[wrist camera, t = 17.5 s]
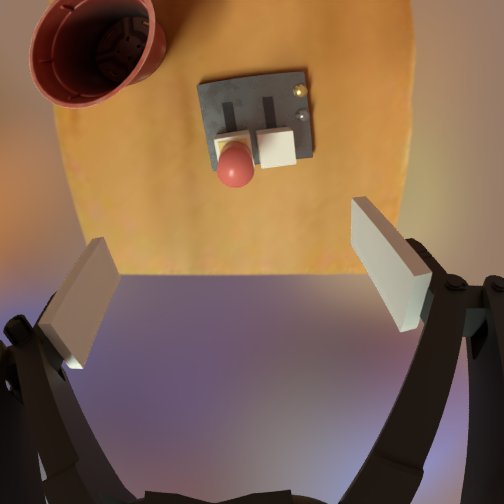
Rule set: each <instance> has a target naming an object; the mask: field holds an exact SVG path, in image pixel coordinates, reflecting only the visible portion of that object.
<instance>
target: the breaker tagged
mask: <svg viewBox="0 0 504 504" xmlns="http://www.w3.org/2000/svg"><path fill="white" fill-rule="evenodd" d="M232 141H239V142H242V143H244V144H245V145H247V146H248V148H249V149H250V151H251V156H252V161H253V165H254V160H253V153H252V146H251V139H250V133H249V130H242V131H235V132H229V133H223V134H217V135H215V138H214V143H215V149H216V154H217V160H218V161H219V156H220V152H221V149H222V148H223V146H224V145H226V144H227V143H229V142H232ZM254 168H255V166H254Z"/></svg>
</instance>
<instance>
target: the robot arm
mask: <svg viewBox="0 0 504 504" xmlns="http://www.w3.org/2000/svg"><path fill="white" fill-rule="evenodd" d="M351 246H352V247H353V249H354V250H355V252H356V254H357V255H358V257H359V259H360V260H361V262H362V264H363V266H364V267H365V269H366V271H367V272H368V274H369V276H370V277H371V279H372V281H373V283H374V284H375V286H376V288H377V290H378V292H379V293H380V295H381V297H382V298H383V301H384V302H385V304H386V306H387V308H388V310H389V312H390V313H391V315H392V317H393V319H394V321H395V323H396V325H397V327H398V328H399V330H400V332H404V331H407V330H411V329H415V328H417V326H418V323H419V319H420V317H421V319H422V321H423V322H424V324H425V325H424V328H423V331H422V333H421V336H420V339H419V343H418V345H417V348H416V351H415V354H414V357H413V360H412V362H411V365H410V367H409V370H408V372H407V375H406V377H405V380H404V382H403V385H402V387H401V390H400V392H399V394H398V396H397V399H396V401H395V403H394V406H393V408H392V410H391V412H390V414H389V416H388V418H387V420H386V423H385V425H384V426H383V428H382V430H381V432H380V434H379V437H378V438H377V440H376V442H375V444H374V446H373V447H372V449H371V451H370V453H369V455H368V457H367V458H366V460H365V462H364V464H363V465H362V467H361V469H360V470H359V472H358V474H357V475H356V477H355V478H354V480H353V482H352V483H351V485H350V486H349V488H348V489H347V491H346V492H345V494H344V495H343V497H342V498H341V500H340V501H339V503H338V504H410V503H411V501H412V499H413V497H414V495H415V493H416V491H417V489H418V487H419V485H420V483H421V480H422V477H423V473H424V471H423V465H424V462H425V460H426V457H427V455H428V453H429V450H430V448H431V445H432V443H433V440H434V437H435V435H436V432H437V429H438V426H439V423H440V420H441V418H442V414H443V411H444V408H445V405H446V402H447V398H448V395H449V392H450V388H451V384H452V380H453V377H454V372H455V369H456V364H457V360H458V355H459V350H460V346H461V341H462V337H466V346H467V358H468V374H469V430H468V445H467V457H466V466H465V474H464V482H463V488H462V495H461V503H460V504H504V278H502V277H500V276H496V275H491V276H488V277H486V279H485V281H484V284H483V286H469V285H468V284H467V282H466V281H465V280H464V279H462V278H461V277H460V276H457V275H454V274H447V273H446V271H445V270H444V269H443V268H442V267H441V266H440V264H439V263H438V262H437V261H436V260H435V258H434V257H432V255H431V254H430V253H429V252H427V249H426V248H425V247H424V246H423V245H422V244H421V243H420V242H418V241H416V240H415V239H413V238H410V239H404V238H403V237H402V235H401V234H400V233H399V232H398V231H397V230H396V229H395V228H394V226H393V225H392V224H391V223H390V222H389V221H388V220H387V219H386V218H385V217H384V215H383V214H382V213H381V212H380V211H379V210H378V209H377V208H376V207H375V206H374V205H373V204H372V203H371V202H370V201H369V200H368V199H367V197H366V196H364V197H355V198H352V217H351ZM120 278H121V277H120V275H119V273H118V270H117V268H116V266H115V263H114V261H113V259H112V256H111V254H110V251H109V249H108V246H107V244H106V242H105V239H104V237H100V238H95V239H92V240H91V242H90V243H89V244H88V246H87V247H86V249H85V250H84V252H83V253H82V254H81V256H80V257H79V259H78V260H77V262H76V263H75V265H74V266H73V268H72V269H71V271H70V272H69V274H68V275H67V277H66V278H65V280H64V281H63V283H62V284H61V286H60V288H59V289H58V290H57V292H55V294H53V295H52V296H51V298H50V300H49V301H48V303H47V305H46V306H45V308H44V311H42V313H41V315H40V316H39V318H38V320H37V322H36V323H35V325H34V327H33V328H32V326H31V325H30V323H29V322H28V320H27V319H26V317H25V316H24V315H22V314H21V315H17V316H15V317H13V318H12V319H10V320H9V321H8V323H7V324H6V325H5V327H4V331H3V332H4V334H5V335H6V337H7V338H8V339H9V341H10V342H11V343H12V345H11V346H8V347H6V346H5V344H4V343H3V342H2V341H1V340H0V504H46V500H45V496H46V499H47V501H48V503H49V504H327V503H325V502H322V501H320V500H317V499H314V498H310V497H305V496H300V495H292V494H291V490H284V491H275V492H265V493H253V494H249V495H246V496H242V497H239V498H235V499H231V500H227V501H223V502H219V503H210V502H206V501H202V500H198V499H194V498H190V497H187V496H183V495H180V494H173V493H161V492H151V491H145V497H144V498H140V499H137V498H136V497H135V496H134V495H132V493H130V492H129V491H128V490H127V489H126V488H125V487H124V485H123V484H122V482H121V481H120V479H119V477H118V476H117V474H116V473H115V471H114V469H113V468H112V466H111V464H110V463H109V461H108V459H107V458H106V456H105V454H104V452H103V451H102V449H101V447H100V445H99V443H98V442H97V440H96V438H95V436H94V434H93V432H92V430H91V428H90V426H89V424H88V422H87V420H86V418H85V416H84V414H83V412H82V410H81V408H80V405H79V403H78V401H77V399H76V396H75V394H74V392H73V389H72V387H71V385H70V382H69V380H68V377H67V375H66V372H65V371H64V369H63V368H62V366H61V365H62V362H63V360H64V361H65V362H66V363H67V365H68V366H69V367H70V368H78V369H83V368H84V365H85V362H86V360H87V357H88V355H89V352H90V349H91V347H92V344H93V341H94V339H95V336H96V333H97V331H98V328H99V326H100V324H101V322H102V319H103V317H104V314H105V312H106V310H107V307H108V305H109V303H110V300H111V298H112V296H113V294H114V291H115V289H116V287H117V285H118V283H119V280H120ZM6 383H7V384H8V385H9V386H10V391H9V390H8V388H7V386H6ZM37 450H38V451H37ZM38 453H39V456H40V459H41V462H42V464H43V467H44V470H45V472H46V475H47V479H46V480H44V481H42V479H41V473H40V467H39V459H38ZM44 494H45V495H44Z"/></svg>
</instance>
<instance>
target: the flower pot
mask: <svg viewBox="0 0 504 504" xmlns="http://www.w3.org/2000/svg"><path fill="white" fill-rule="evenodd" d="M143 21H145V22H148V23H149V27H148V26H145V25H143V24H142V22H143ZM111 30H114V33H112V34H111V36H110V37H109V38H108V40H107V42H106V43H103V42H104V40H105V38H106V37H107V35H108V34H109V33H110V32H111ZM127 37H129V38H130V40H129V41H126V38H127ZM139 44H140V45H141V47H140V48H138V47H137V45H139ZM166 48H167V47H166V35H165V32H164V30H163V28H162V27H161V25H160V24H159V23H158V21H157V20H156V19H155V12H154V8H153V4H152V2H151V0H54V1H53V2H52V3H51V4H50V6H49V7H48V8H47V9H46V11H45V12H44V14H43V15H42V17H41V18H40V20H39V22H38V24H37V26H36V28H35V31H34V33H33V36H32V40H31V44H30V50H29V66H30V72H31V76H32V79H33V82H34V84H35V86H36V87H37V89H38V91H39V92H40V93H41V94H42V95H43V96H44V97H45V98H46V99H48V100H49V101H51V102H52V103H54V104H56V105H58V106H61V107H65V108H75V109H77V108H87V107H91V106H94V105H97V104H100V103H102V102H104V101H106V100H108V99H109V98H111V97H113V96H114V95H116V94H117V93H118V92H120V91H121V90H122V89H123V88H124V87H126V86H129V85H132V84H135V83H138V82H140V81H142V80H144V79H146V78H147V77H149V76H150V75H151V74H152V73H153V72H154V71H155V70H156V69H157V68H158V67H159V65H160V64H161V62H162V60H163V58H164V56H165V52H166ZM117 50H120V53H117ZM128 57H131V60H130V61H129V60H128ZM108 69H110V70H111V71H112V72H113V73H115V74H117V75H118V77H117V78H115V77H113V76H111V75H110V74H109V73H107V70H108Z"/></svg>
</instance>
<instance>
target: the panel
mask: <svg viewBox="0 0 504 504" xmlns="http://www.w3.org/2000/svg"><path fill="white" fill-rule="evenodd" d="M197 90H198V96H199V101H200V107H201V112H202V118H203V123H204V128H205V134H206V139H207V144H208V150H209V155H210V160H211V165H212V170H213V171H217V166H218V160H217V154H216V149H215V143H214V138H215V135H217V134H223V133H229V132H235V131H242V130H249V133H250V139H251V146H252V153H253V160H254V165H256V164H260V160H259V152H258V145H257V138H256V130H263V129H271V128H280V127H289V128H290V129H291V130H293V136H294V146H295V156H296V159H303V158H312V157H313V152H312V140H311V128H310V113H309V108H308V99H307V93H308V89H307V87H306V81H305V73H304V71H303V72H289V73H277V74H267V75H258V76H250V77H243V78H236V79H229V80H223V81H217V82H212V83H206V84H201V85H197Z"/></svg>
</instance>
